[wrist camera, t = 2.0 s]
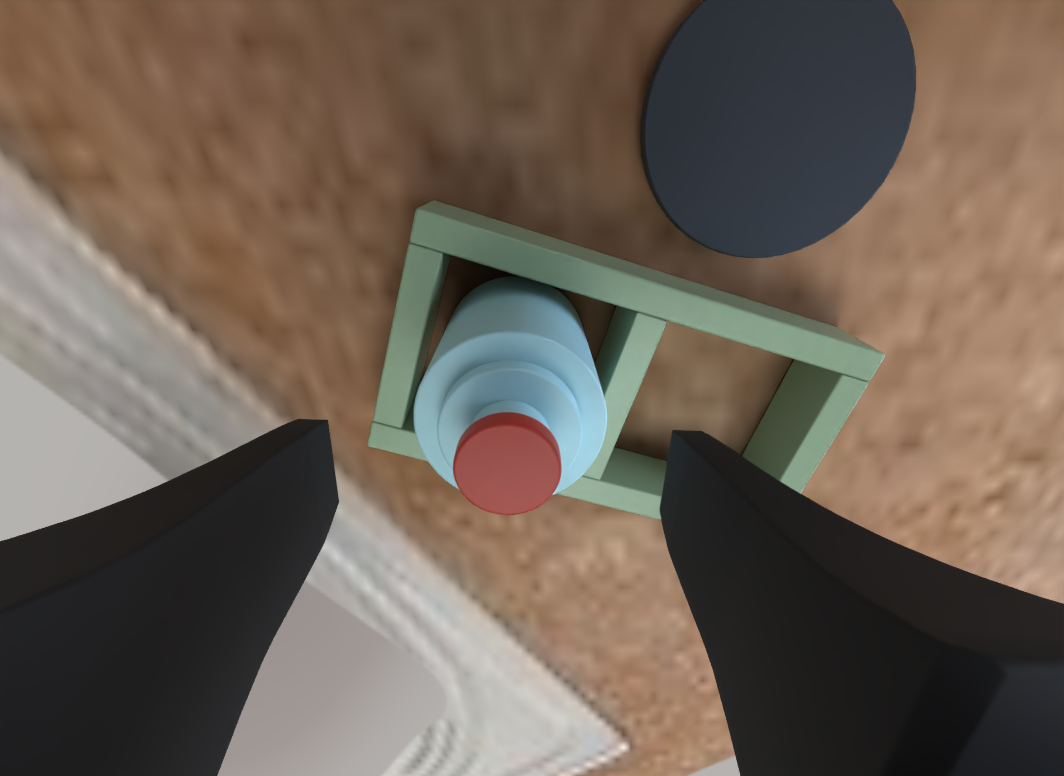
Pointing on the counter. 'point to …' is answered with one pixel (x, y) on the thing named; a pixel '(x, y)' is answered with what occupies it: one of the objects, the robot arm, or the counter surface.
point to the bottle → (511, 397)
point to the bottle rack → (624, 350)
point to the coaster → (776, 119)
